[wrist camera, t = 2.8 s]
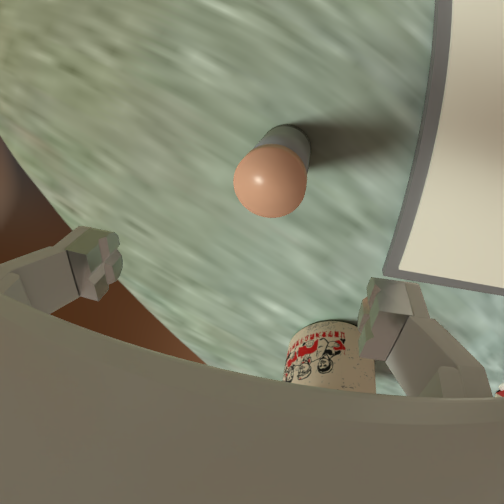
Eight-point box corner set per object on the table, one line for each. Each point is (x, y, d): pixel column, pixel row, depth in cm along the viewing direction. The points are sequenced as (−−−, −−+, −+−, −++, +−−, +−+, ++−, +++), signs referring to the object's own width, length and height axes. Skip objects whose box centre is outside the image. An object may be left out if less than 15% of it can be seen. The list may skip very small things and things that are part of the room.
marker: (263, 121, 21) (234, 145, 14) (314, 127, 20) (310, 155, 14) (259, 168, 22) (232, 212, 16) (308, 175, 22) (300, 222, 16)
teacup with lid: (341, 301, 27) (338, 419, 18) (390, 353, 30) (398, 456, 20) (248, 352, 33) (220, 447, 24) (302, 392, 36) (288, 479, 26)
